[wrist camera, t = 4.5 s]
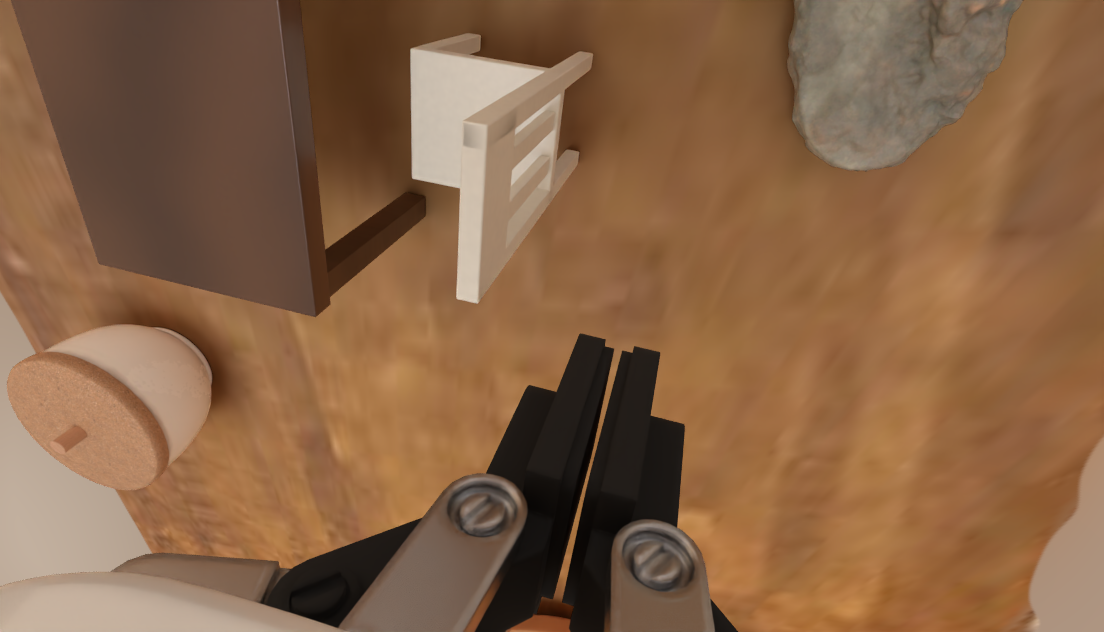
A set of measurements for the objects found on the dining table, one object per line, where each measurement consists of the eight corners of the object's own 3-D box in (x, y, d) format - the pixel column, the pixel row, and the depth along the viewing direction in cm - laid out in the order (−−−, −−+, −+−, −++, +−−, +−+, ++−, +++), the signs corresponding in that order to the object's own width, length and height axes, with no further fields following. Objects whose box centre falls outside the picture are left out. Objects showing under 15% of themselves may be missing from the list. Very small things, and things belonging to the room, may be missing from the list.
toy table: (429, -96, 29) (262, -132, 19) (428, 220, 38) (316, 317, 28) (217, -124, 31) (-48, -171, 20) (264, 185, 40) (98, 264, 29)
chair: (593, 53, 31) (487, 124, 17) (577, 165, 34) (477, 304, 20) (467, 32, 32) (267, 84, 18) (463, 143, 35) (291, 261, 21)
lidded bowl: (152, 273, 47) (12, 348, 38) (266, 387, 50) (165, 481, 41) (88, 337, 53) (-45, 416, 44) (195, 435, 56) (93, 527, 47)
